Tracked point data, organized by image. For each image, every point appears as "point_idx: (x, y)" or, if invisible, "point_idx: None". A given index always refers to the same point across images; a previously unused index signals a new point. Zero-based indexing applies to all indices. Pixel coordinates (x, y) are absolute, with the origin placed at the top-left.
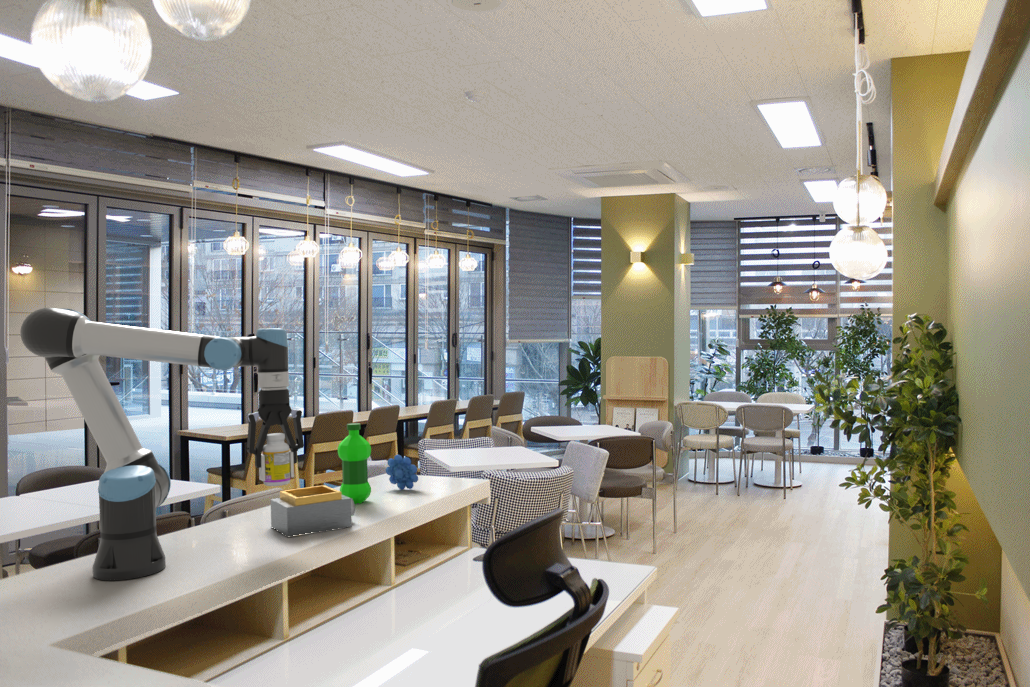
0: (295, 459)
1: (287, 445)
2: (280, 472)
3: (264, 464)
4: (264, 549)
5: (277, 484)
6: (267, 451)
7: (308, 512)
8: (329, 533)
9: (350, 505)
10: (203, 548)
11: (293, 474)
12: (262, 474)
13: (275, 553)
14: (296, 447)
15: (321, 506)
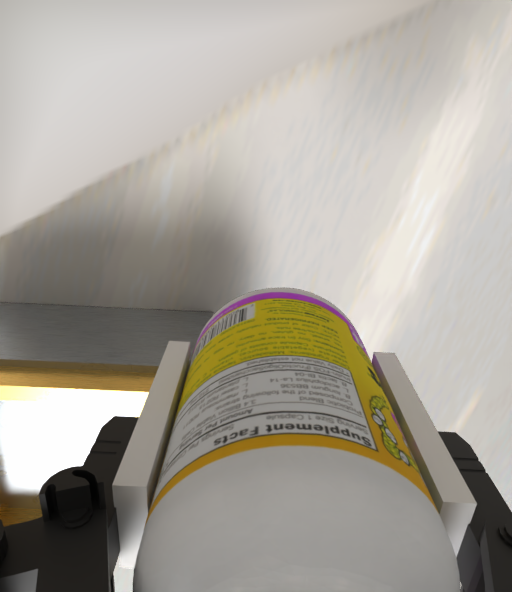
0: (110, 439)
1: (166, 553)
2: (291, 321)
3: (412, 431)
4: (332, 221)
5: (307, 292)
6: (438, 517)
7: (115, 346)
8: (74, 271)
9: None
10: (465, 363)
11: (168, 351)
12: (406, 380)
13: (326, 139)
14: (48, 531)
15: (51, 351)
